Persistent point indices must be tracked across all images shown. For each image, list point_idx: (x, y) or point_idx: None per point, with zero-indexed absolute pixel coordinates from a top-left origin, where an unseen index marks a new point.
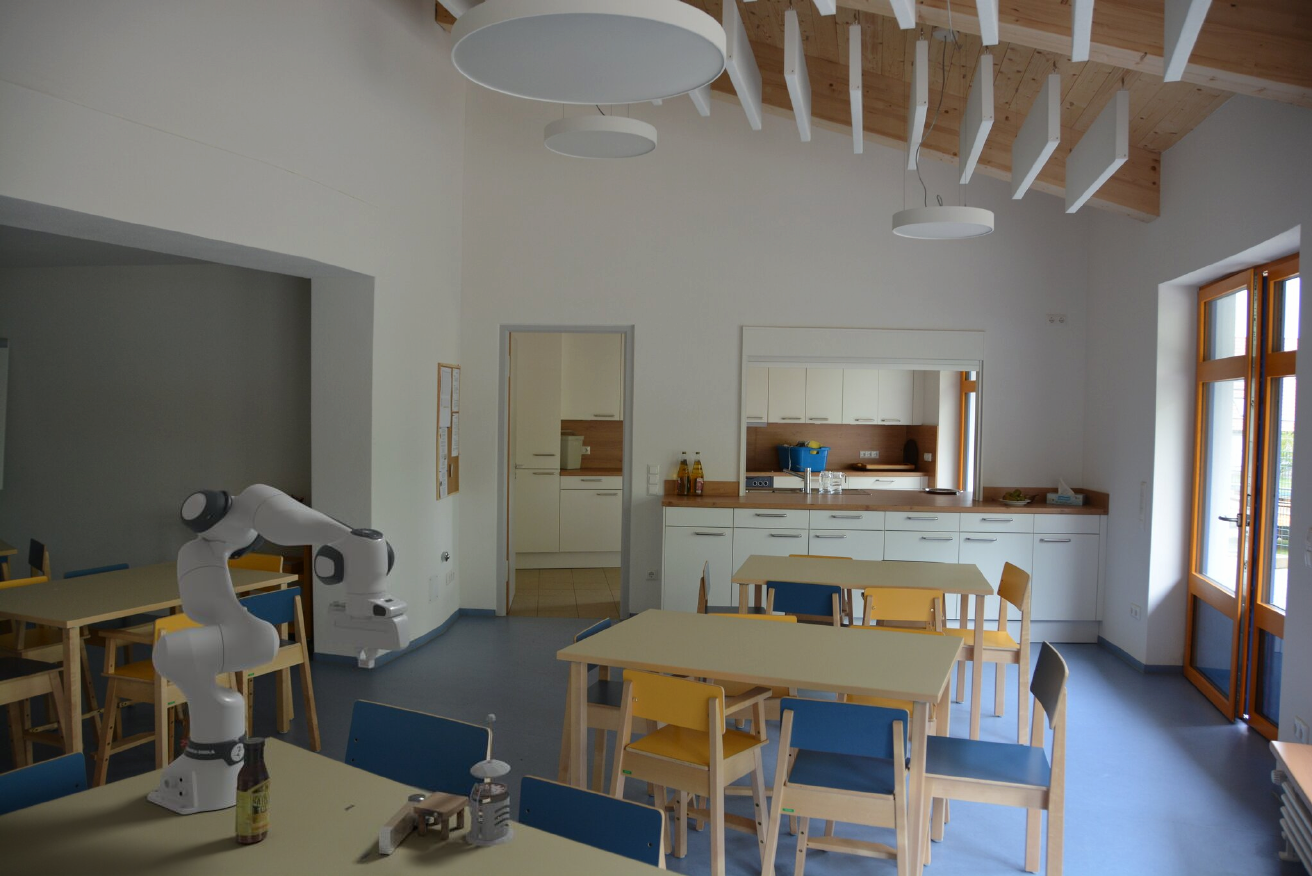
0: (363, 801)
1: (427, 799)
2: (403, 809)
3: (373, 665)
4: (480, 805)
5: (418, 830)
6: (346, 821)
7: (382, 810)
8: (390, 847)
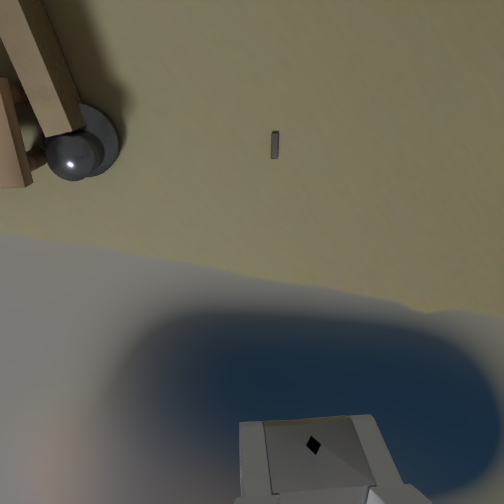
0: (267, 184)
1: (2, 134)
2: (40, 79)
3: (240, 470)
4: None
5: (19, 83)
6: (233, 80)
7: (197, 162)
8: None
